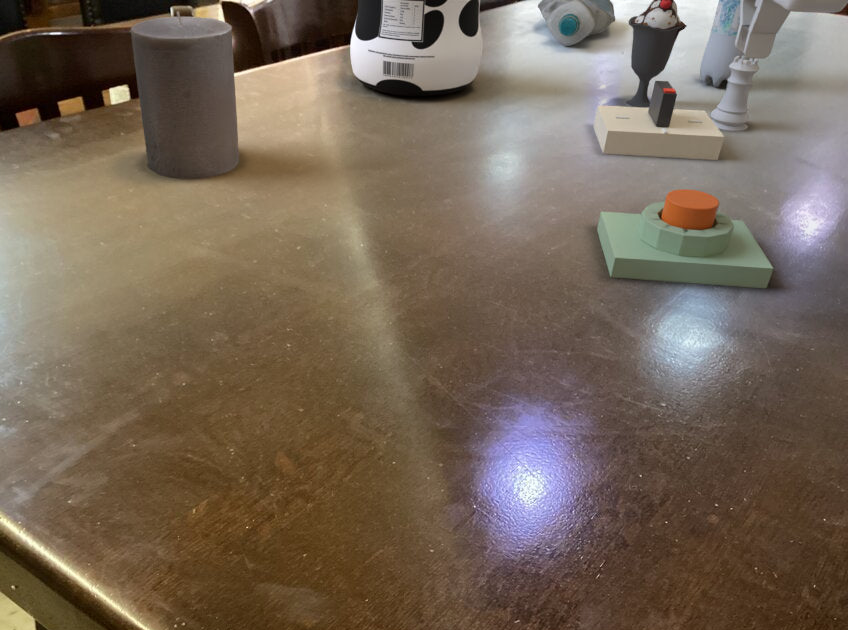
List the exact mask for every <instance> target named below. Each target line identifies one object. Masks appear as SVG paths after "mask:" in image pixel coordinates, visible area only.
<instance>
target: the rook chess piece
mask: <svg viewBox="0 0 848 630" xmlns="http://www.w3.org/2000/svg"><path fill="white" fill-rule="evenodd" d="M759 61H760V59H756V58H750V59H749V60H746V56H742V58H741V59H740V56H736V57H735V59H734V62H732V63H731V64H730V65H729V68H730V70H731V76H730V77H729V78H728V79H727V80H728V85H727V84H726V85H727V86H726V89H725V91H724V94H723V95H722V98H721V100H720V102H719V103H718V104H717V105H716V108H714V109H713V110H712V111H711V113H710V118H711V119H712V121H713V122H714V123H715V125H716V126H717V127H718V129H719V130H721V131H728V132H741V131H745V130H747V129H748V125H747V124H746V123H749V121H750V114H749V112H748V111H749V108H748V101H749V94H750V93H749V92H750V89H751V86H752V85H753V84H754V80H753V77H754V75H755V74H756V73H757V72H759V71H760V69H761V68H760V66H759ZM727 80H726V81H727Z"/></svg>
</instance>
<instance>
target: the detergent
mask: <svg viewBox="0 0 848 630" xmlns="http://www.w3.org/2000/svg"><path fill="white" fill-rule="evenodd" d="M537 8H538V9H539V11H540V13H541V15H542V17H543V19H544V20H545V21H546V25H547V27H548V29H549V32H550V33H551V34H552V36H553V38H555V40H556V41H557V42H559V44H561V45H563V46H564V47H571V46H574V45H576V44H577V43H579V42H581V41H582V40H584V39H585V38H586V37H588V36H595V35H598V34H600V33H602V32H603V31H605V30H606V29H607V28H608V27H609V26H611V24H613V23H614V22H615V21H616V15H615V7H614V4H613V2H612V1H611V0H541V1H540V2H539V3H538V4H537Z"/></svg>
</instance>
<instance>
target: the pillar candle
mask: <svg viewBox="0 0 848 630" xmlns="http://www.w3.org/2000/svg"><path fill="white" fill-rule="evenodd" d="M232 30H233V26H232V25H231V24H229V23H228V22H226V21H223V20H219V19H216V18H212V17H201V16H181V14H180V11H178V10H177V11H176V16H164V17H156V18H151V19H146V20H142V21H140V22H136V23H134V25H132V26H131V28H130V36H131V42H132V43H131V45H132V51H133V62H134V69H135V73H136V74H135V75H136V85H137V92H138V97H139V98H138V100H139V105H140V112H141V122H142V123H141V124H142V129H143V135H144V145H145V151H146V158H147V159H146V160H147V164H146V167H147V168H148V169H149V170H151V171H152V172H153V173H155V174H156V175H159V176H162V177H165V178H170V179H180V180H194V179H195V180H196V179H205V178H211V177H216V176H221V175H223V174H226V173H229V172H231V171H232V170H234V169H235V168H236V167H237V166H238V165H239V163H240V153H239V132H238V115H237V97H236V83H235V82H236V81H235V66H234V63H235V62H234V49H233V31H232Z"/></svg>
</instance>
